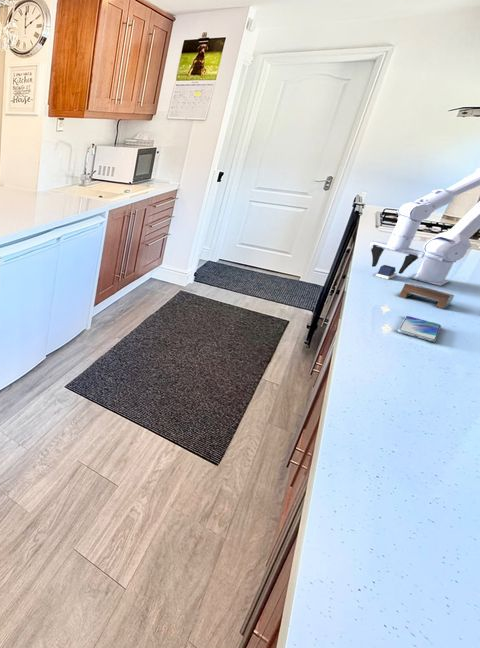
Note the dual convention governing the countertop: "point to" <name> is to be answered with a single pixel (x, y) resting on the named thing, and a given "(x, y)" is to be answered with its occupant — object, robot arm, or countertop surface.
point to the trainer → (386, 272)
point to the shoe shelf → (427, 294)
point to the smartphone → (420, 328)
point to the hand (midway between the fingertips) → (386, 269)
